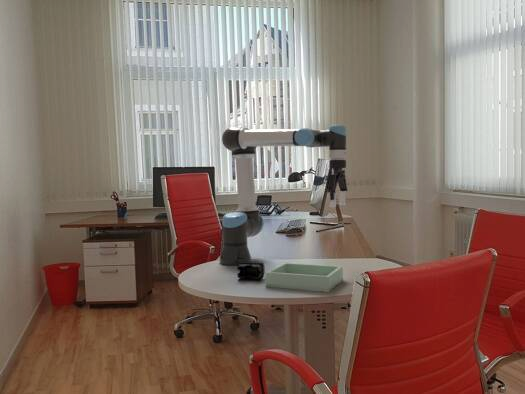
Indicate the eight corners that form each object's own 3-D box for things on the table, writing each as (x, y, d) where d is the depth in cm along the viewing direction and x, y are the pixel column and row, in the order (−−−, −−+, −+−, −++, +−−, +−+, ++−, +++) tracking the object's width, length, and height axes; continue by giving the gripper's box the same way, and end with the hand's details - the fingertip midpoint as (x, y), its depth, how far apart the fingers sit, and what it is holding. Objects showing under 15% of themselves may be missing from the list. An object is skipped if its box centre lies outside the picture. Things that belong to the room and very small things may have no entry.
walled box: (265, 286, 190) (265, 272, 190) (284, 275, 209) (284, 262, 209) (328, 292, 181) (328, 276, 181) (342, 280, 200) (342, 266, 199)
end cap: (265, 278, 206) (264, 261, 206) (260, 282, 199) (260, 265, 199) (241, 277, 209) (241, 260, 208) (236, 281, 202) (236, 264, 201)
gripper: (336, 159, 217) (336, 208, 218) (353, 159, 239) (353, 204, 240) (320, 159, 220) (320, 207, 221) (338, 159, 242) (338, 204, 244)
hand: (337, 206), depth 231 cm, fingers open, 13 cm apart
